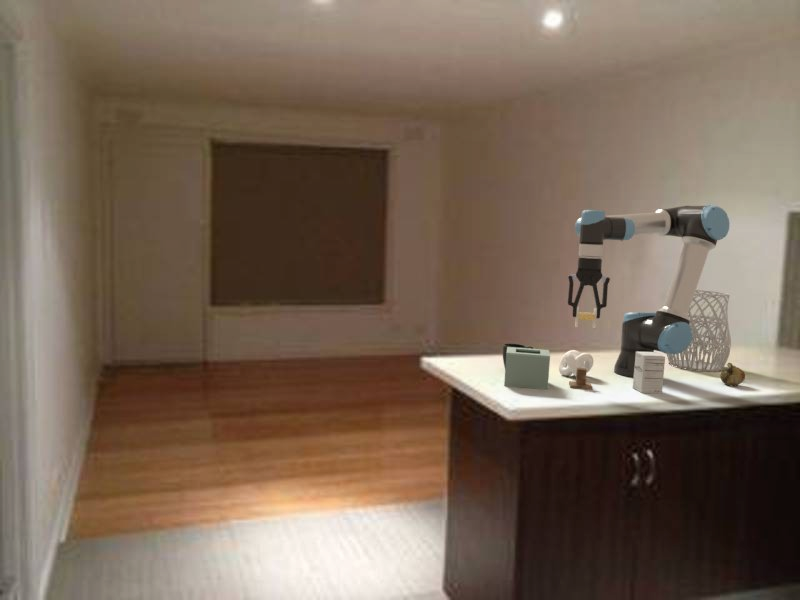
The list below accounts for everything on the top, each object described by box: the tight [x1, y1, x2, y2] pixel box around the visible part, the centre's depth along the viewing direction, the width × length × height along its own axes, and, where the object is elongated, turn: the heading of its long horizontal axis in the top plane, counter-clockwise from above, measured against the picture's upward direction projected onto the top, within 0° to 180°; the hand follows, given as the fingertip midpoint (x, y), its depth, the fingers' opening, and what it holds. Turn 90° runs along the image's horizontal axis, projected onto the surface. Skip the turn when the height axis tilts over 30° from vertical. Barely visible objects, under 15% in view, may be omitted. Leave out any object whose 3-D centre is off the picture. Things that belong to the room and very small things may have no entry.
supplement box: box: [632, 351, 666, 395], centre depth 248 cm, size 7×7×13 cm
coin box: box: [503, 347, 551, 390], centre depth 250 cm, size 14×12×11 cm
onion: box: [719, 362, 746, 386], centre depth 265 cm, size 8×8×8 cm
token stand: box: [568, 368, 593, 390], centre depth 250 cm, size 7×7×6 cm
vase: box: [666, 289, 732, 372], centre depth 298 cm, size 24×24×30 cm
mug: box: [502, 343, 534, 368], centre depth 271 cm, size 8×12×10 cm
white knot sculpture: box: [558, 349, 594, 377], centre depth 266 cm, size 11×12×9 cm
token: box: [578, 311, 595, 322], centre depth 248 cm, size 5×5×2 cm
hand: (585, 327), depth 249 cm, fingers closed on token, 5 cm apart
